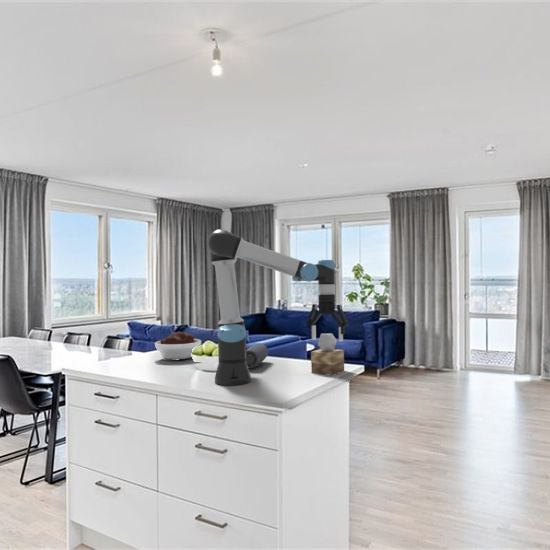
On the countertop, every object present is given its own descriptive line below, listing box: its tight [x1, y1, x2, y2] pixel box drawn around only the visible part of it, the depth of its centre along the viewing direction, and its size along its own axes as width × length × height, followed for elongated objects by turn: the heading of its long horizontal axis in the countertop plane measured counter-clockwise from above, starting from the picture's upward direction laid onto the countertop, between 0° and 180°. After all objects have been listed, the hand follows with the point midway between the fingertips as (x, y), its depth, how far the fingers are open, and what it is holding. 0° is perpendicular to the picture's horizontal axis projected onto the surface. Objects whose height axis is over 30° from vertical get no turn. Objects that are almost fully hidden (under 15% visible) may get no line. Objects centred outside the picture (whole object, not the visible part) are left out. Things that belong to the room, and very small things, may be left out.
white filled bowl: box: [154, 331, 202, 360], centre depth 266 cm, size 25×25×15 cm
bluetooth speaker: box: [246, 343, 269, 369], centre depth 240 cm, size 23×9×10 cm, turn 168°
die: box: [317, 333, 338, 352], centre depth 221 cm, size 8×9×10 cm
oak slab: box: [310, 348, 345, 365], centre depth 221 cm, size 11×11×5 cm
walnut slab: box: [310, 360, 345, 376], centre depth 221 cm, size 11×11×5 cm
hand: (327, 340), depth 221 cm, fingers open, 13 cm apart
